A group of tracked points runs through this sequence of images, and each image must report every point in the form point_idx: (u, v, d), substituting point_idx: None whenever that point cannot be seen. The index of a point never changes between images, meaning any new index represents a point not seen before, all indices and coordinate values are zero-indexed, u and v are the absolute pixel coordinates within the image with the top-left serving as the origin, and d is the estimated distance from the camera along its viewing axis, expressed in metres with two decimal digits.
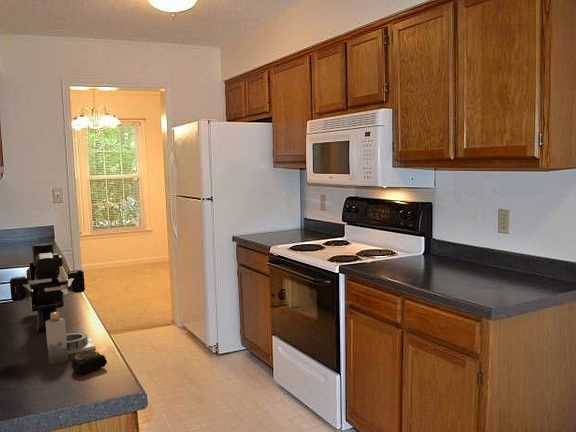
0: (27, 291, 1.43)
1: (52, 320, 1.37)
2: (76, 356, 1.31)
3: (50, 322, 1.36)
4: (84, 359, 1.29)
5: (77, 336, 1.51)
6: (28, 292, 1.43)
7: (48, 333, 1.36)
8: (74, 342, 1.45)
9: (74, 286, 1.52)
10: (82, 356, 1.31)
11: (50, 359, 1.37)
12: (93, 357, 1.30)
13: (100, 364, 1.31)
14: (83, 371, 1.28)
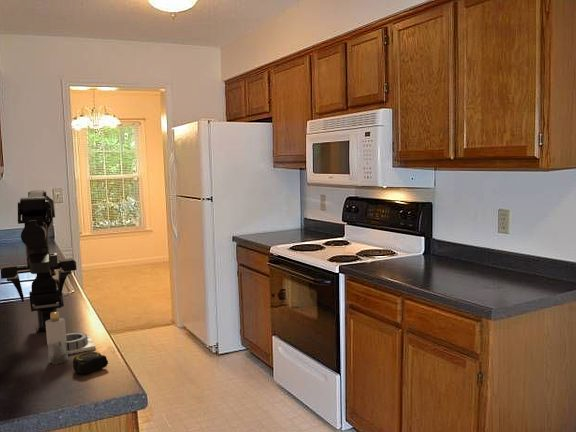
0: (19, 294, 1.48)
1: (52, 320, 1.37)
2: (77, 356, 1.31)
3: (50, 322, 1.36)
4: (85, 360, 1.29)
5: (77, 336, 1.51)
6: (20, 296, 1.48)
7: (48, 333, 1.36)
8: (74, 342, 1.45)
9: None
10: (83, 356, 1.31)
11: (50, 359, 1.37)
12: (94, 357, 1.30)
13: (101, 365, 1.31)
14: (84, 372, 1.27)
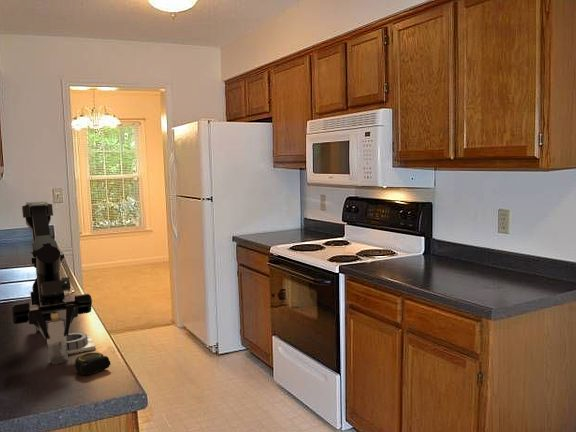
0: (41, 331, 1.36)
1: (52, 320, 1.37)
2: (79, 357, 1.30)
3: (50, 322, 1.36)
4: (87, 360, 1.28)
5: (77, 336, 1.51)
6: (43, 333, 1.36)
7: (48, 333, 1.36)
8: (74, 342, 1.45)
9: None
10: (85, 357, 1.30)
11: (50, 359, 1.37)
12: (97, 358, 1.29)
13: (104, 365, 1.30)
14: (87, 372, 1.27)
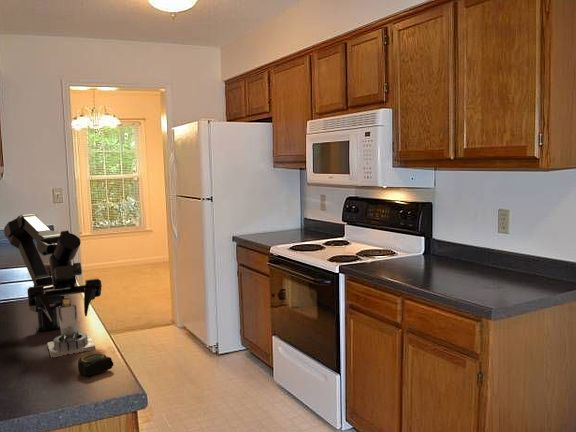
0: (48, 313, 1.45)
1: (64, 306, 1.46)
2: (82, 358, 1.30)
3: (62, 307, 1.46)
4: (90, 361, 1.28)
5: None
6: (49, 316, 1.45)
7: (61, 318, 1.46)
8: (74, 342, 1.45)
9: (89, 296, 1.53)
10: (88, 358, 1.30)
11: None
12: (99, 359, 1.29)
13: (107, 366, 1.29)
14: (89, 373, 1.26)
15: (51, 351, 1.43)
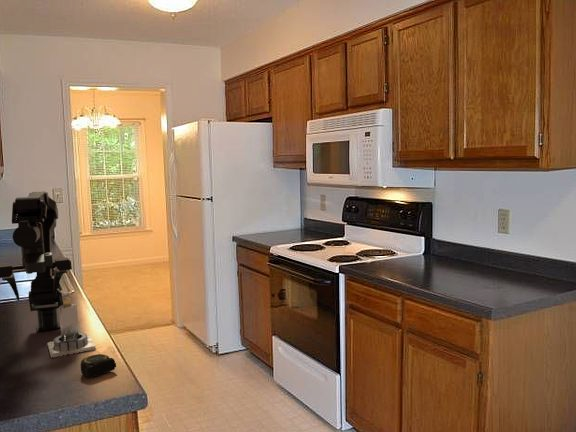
0: None
1: (65, 305, 1.47)
2: (85, 359, 1.29)
3: (63, 307, 1.46)
4: (93, 362, 1.27)
5: None
6: (15, 295, 1.49)
7: (61, 317, 1.46)
8: (74, 342, 1.45)
9: None
10: (91, 359, 1.29)
11: None
12: (102, 360, 1.28)
13: (109, 367, 1.28)
14: (92, 375, 1.25)
15: (51, 351, 1.43)
